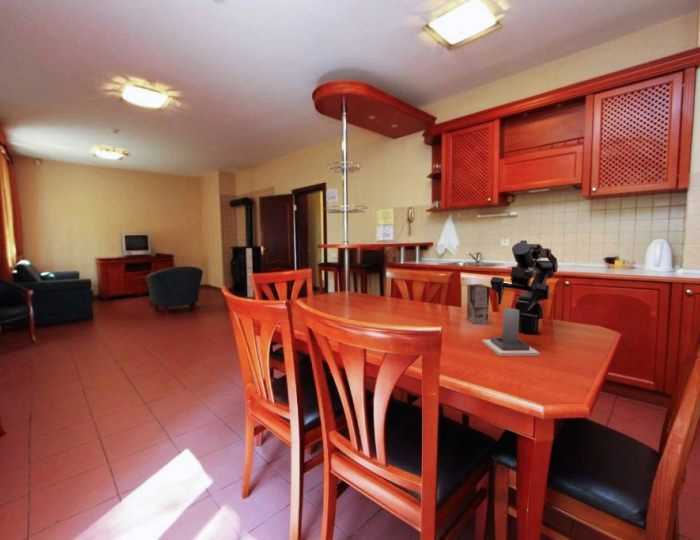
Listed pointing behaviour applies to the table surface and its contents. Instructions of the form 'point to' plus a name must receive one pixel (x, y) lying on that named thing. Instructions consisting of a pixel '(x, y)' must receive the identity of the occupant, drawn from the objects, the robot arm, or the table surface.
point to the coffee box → (478, 303)
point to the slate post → (510, 326)
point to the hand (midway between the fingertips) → (512, 307)
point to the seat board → (510, 348)
